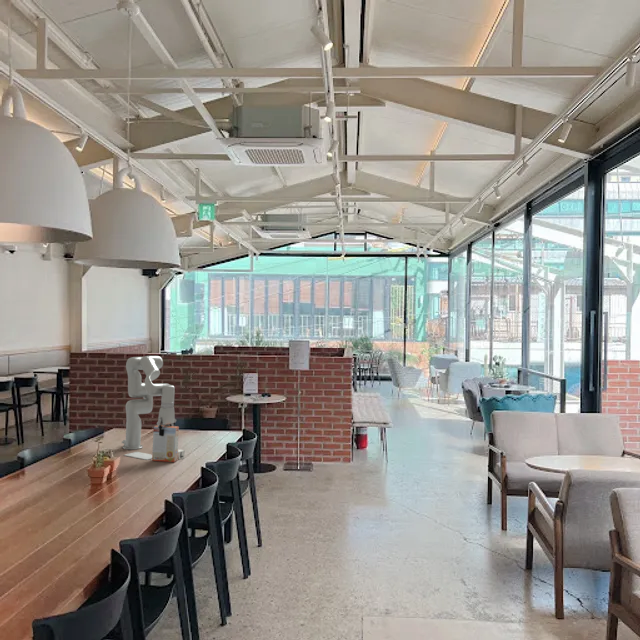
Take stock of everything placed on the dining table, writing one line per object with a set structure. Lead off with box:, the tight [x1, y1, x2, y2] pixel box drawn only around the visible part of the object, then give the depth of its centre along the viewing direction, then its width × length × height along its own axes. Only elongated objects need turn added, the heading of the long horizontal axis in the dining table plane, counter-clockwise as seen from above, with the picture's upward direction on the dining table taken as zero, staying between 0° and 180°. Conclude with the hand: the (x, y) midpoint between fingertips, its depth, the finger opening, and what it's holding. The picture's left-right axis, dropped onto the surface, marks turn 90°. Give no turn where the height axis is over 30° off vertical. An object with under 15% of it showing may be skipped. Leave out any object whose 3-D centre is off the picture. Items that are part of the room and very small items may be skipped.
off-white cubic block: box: [177, 448, 185, 461], centre depth 367 cm, size 5×5×5 cm
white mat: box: [123, 451, 152, 461], centre depth 368 cm, size 19×11×1 cm, turn 63°
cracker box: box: [151, 425, 180, 463], centre depth 359 cm, size 14×6×21 cm, turn 84°
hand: (166, 434), depth 360 cm, fingers closed on cracker box, 7 cm apart
